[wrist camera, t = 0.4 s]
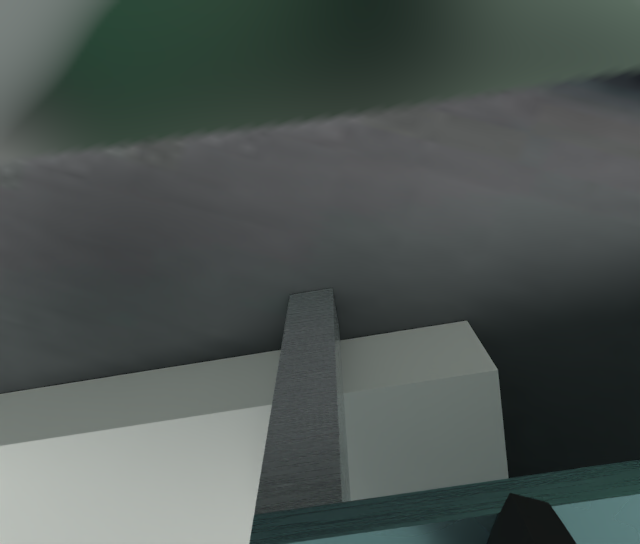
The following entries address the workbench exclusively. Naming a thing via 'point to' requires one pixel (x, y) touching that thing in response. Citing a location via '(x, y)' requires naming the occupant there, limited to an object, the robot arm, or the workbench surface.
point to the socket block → (237, 440)
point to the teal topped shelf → (408, 508)
